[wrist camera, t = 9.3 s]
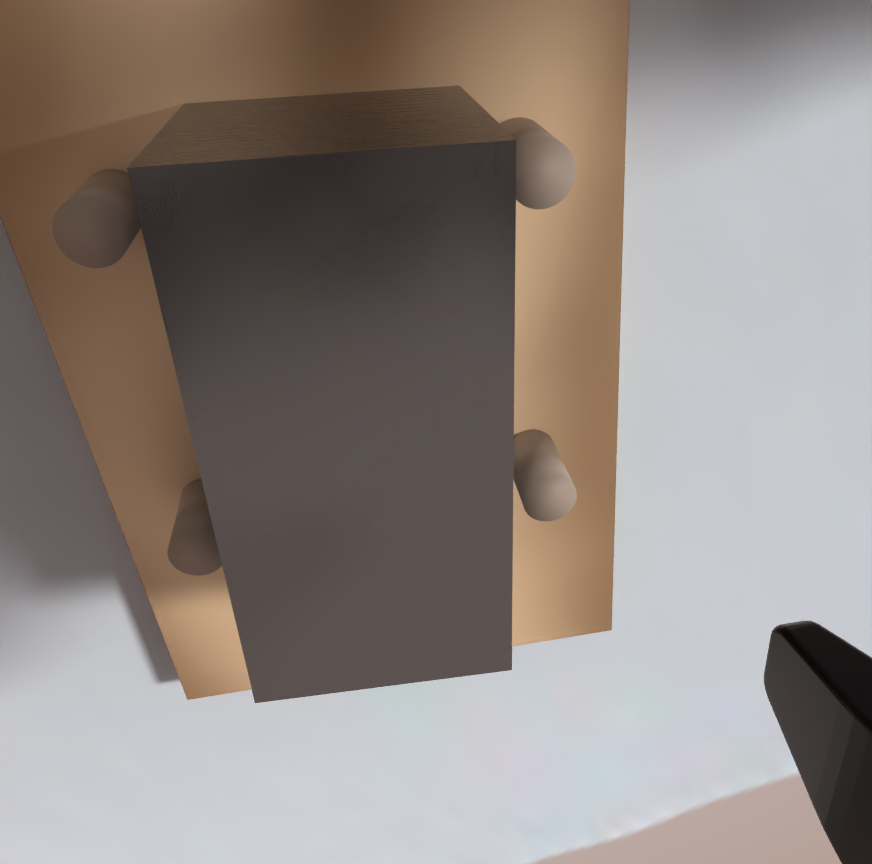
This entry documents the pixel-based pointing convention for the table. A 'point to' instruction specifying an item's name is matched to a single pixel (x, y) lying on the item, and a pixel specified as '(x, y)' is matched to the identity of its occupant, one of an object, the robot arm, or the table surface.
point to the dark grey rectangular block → (346, 374)
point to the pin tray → (299, 76)
